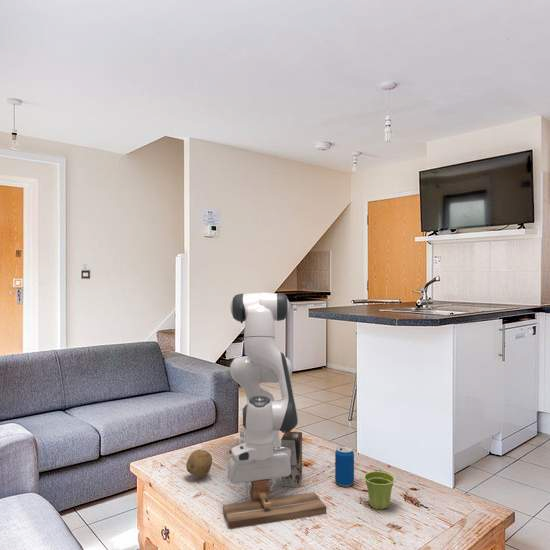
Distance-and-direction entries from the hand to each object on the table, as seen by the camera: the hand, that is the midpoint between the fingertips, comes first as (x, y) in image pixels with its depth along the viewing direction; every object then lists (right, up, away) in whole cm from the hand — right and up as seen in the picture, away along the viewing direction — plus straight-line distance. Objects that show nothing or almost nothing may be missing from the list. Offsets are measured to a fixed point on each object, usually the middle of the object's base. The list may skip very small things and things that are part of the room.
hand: (259, 492), depth 147 cm
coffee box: (+11, -4, +16) cm, 19 cm away
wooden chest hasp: (+1, -3, -4) cm, 5 cm away
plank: (+5, -3, -6) cm, 8 cm away
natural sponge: (-22, -4, +19) cm, 29 cm away
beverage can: (+29, -4, +14) cm, 32 cm away
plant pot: (+38, -4, -1) cm, 38 cm away
